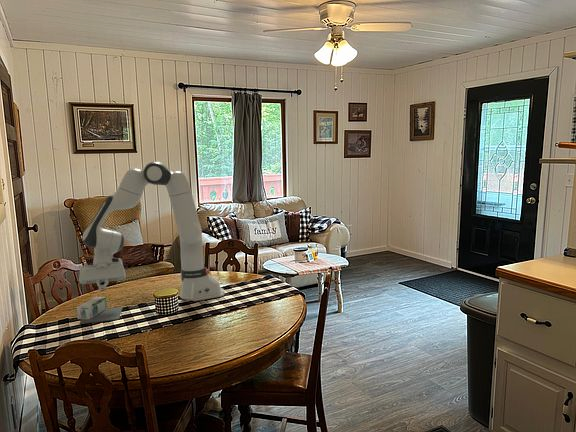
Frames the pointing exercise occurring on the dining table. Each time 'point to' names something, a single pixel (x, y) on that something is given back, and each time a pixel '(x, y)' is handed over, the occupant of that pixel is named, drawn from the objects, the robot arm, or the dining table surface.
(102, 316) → the mat
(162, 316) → the dining table surface
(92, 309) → the syrup box
